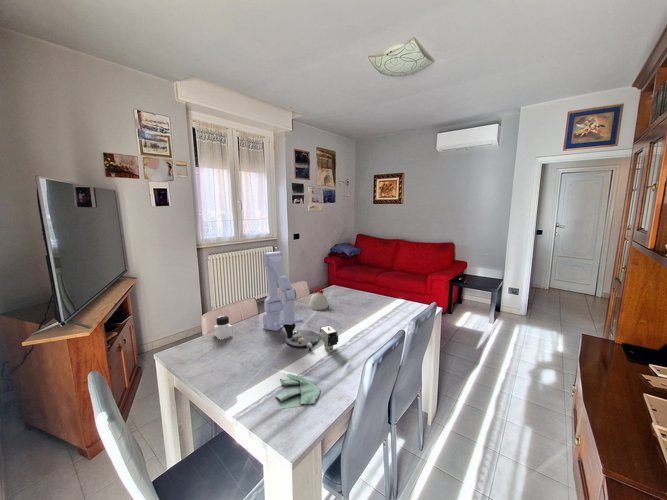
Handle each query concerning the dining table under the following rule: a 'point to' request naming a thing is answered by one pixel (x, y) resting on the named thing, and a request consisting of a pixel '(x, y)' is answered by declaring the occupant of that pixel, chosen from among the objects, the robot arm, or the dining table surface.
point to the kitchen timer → (318, 301)
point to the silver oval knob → (309, 346)
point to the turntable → (303, 339)
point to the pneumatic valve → (328, 337)
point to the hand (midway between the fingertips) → (289, 337)
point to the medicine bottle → (223, 328)
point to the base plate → (305, 346)
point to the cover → (296, 335)
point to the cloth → (298, 392)
